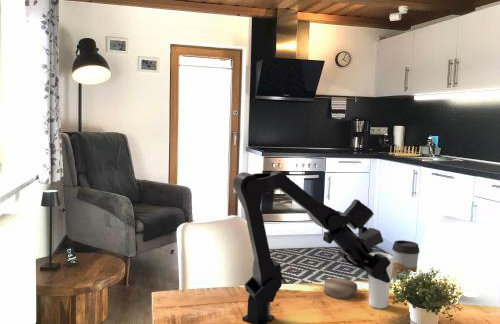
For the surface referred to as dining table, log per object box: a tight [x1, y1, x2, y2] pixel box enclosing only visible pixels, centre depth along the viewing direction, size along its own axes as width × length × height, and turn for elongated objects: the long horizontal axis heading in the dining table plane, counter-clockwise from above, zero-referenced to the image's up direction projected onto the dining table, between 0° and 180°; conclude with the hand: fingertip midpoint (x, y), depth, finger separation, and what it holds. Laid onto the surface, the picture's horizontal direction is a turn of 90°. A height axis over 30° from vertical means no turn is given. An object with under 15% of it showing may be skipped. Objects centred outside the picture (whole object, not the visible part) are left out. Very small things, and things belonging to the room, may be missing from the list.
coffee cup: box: [391, 239, 420, 284], centre depth 146 cm, size 8×8×15 cm
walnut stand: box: [323, 277, 358, 301], centre depth 141 cm, size 10×10×3 cm
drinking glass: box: [367, 251, 393, 310], centre depth 132 cm, size 7×7×15 cm
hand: (379, 276), depth 132 cm, fingers open, 9 cm apart
